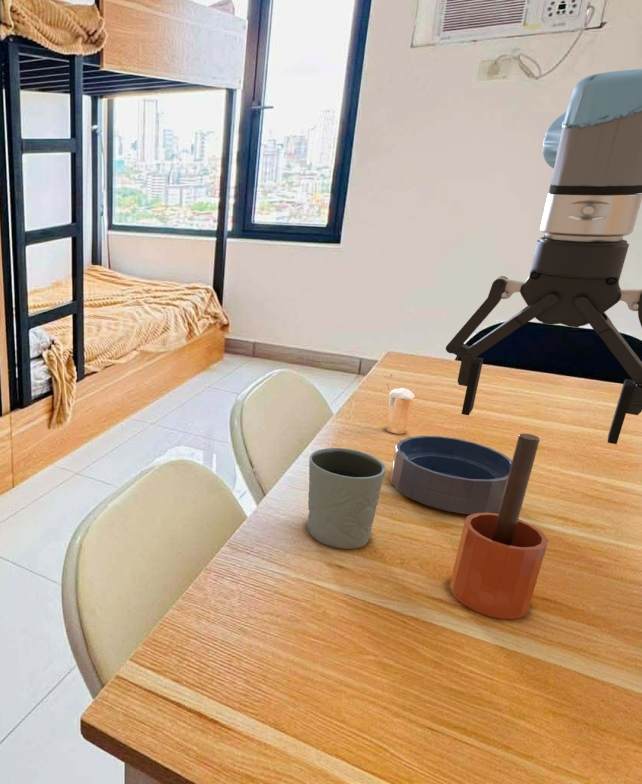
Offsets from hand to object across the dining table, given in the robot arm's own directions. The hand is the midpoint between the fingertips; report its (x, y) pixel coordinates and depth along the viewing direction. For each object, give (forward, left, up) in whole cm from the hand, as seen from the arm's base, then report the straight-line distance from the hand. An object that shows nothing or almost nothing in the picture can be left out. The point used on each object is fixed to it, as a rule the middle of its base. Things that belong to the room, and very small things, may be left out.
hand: (535, 425), depth 72 cm
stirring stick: (0, 0, -24) cm, 24 cm away
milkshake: (+24, -50, -24) cm, 61 cm away
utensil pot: (0, 0, -24) cm, 24 cm away
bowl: (+10, -28, -24) cm, 38 cm away
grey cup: (+20, -3, -24) cm, 32 cm away
